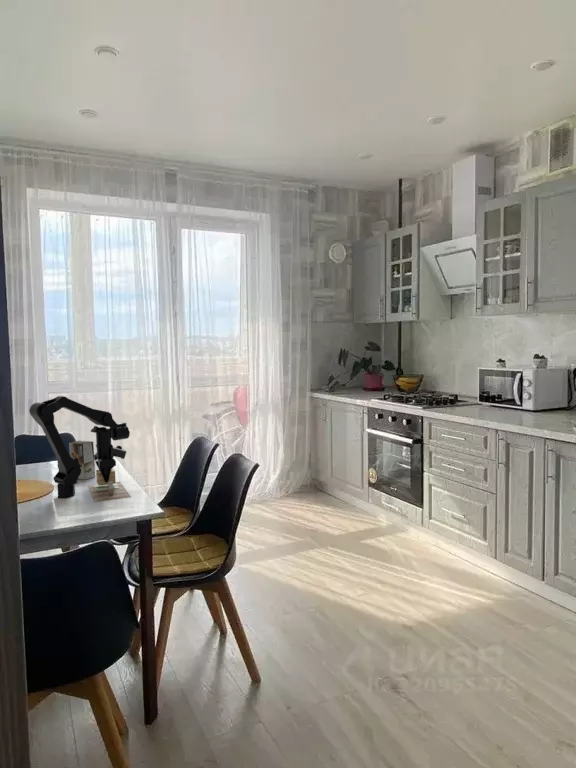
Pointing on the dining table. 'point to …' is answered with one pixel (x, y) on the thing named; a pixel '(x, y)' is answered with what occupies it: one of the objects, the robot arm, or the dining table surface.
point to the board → (105, 495)
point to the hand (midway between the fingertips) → (105, 480)
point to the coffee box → (84, 457)
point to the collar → (101, 480)
